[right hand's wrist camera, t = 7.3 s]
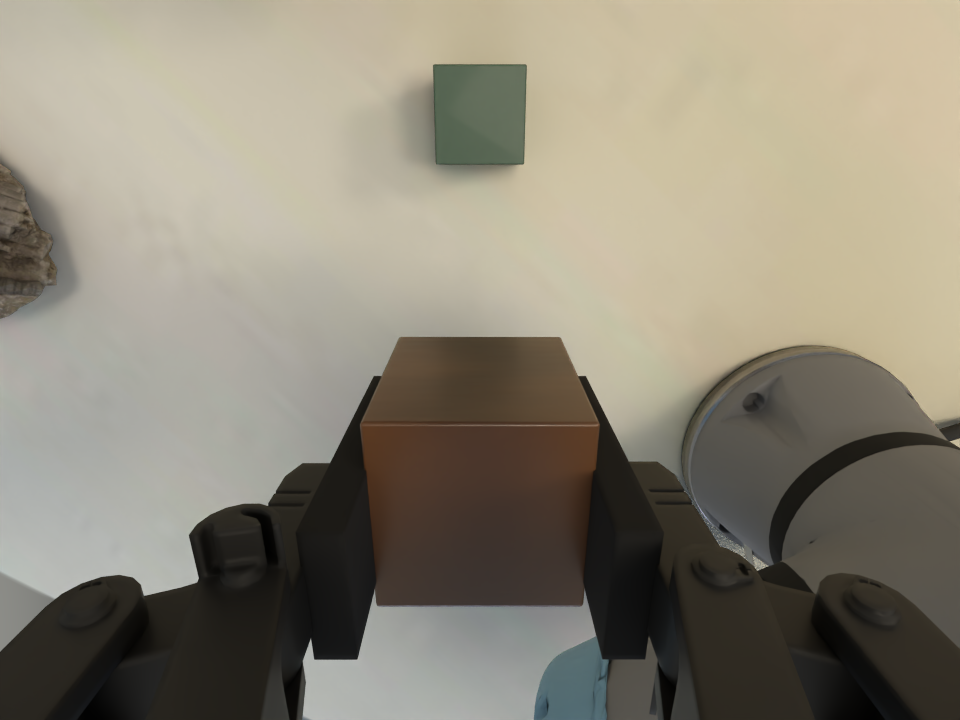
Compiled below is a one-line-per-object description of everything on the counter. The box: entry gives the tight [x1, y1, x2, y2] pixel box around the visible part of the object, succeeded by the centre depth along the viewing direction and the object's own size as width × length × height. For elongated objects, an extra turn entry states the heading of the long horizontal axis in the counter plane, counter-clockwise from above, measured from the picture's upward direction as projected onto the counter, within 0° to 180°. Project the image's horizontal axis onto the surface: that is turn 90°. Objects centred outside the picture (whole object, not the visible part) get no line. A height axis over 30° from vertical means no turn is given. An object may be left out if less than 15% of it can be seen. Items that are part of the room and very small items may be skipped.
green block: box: [433, 65, 527, 165], centre depth 28 cm, size 4×4×5 cm
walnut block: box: [360, 337, 600, 607], centre depth 13 cm, size 4×4×5 cm
